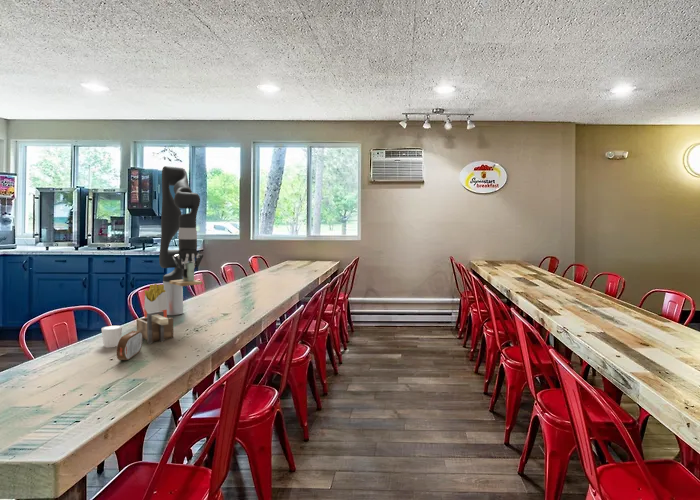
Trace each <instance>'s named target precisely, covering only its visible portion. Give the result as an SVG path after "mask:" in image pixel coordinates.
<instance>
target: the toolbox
mask: <svg viewBox="0 0 700 500" xmlns="http://www.w3.org/2000/svg"><path fill="white" fill-rule="evenodd" d="M157 314H159V315H160V316H163V317H164V311H158V312H152V313H147V317H146V318H145V317H141V318H136V331H140V332H142V334H143V340H145V341H146V342H147V344H148V345H152V344H153V343H155V342H164V341H165V340H169V339H173V338H174V318H173V317H167V318H168V324H167V325H160V324H158V323H155V322H153V321H152V315H157Z"/></svg>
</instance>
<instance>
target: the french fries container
mask: <svg viewBox="0 0 700 500" xmlns="http://www.w3.org/2000/svg"><path fill="white" fill-rule="evenodd" d="M143 291H144V305H143V306H144V312H143V313H144V318H146V317H147V313H152V312H158V311H164V317H166V318H168V315H167V298H166V292H165V290H164V285H163V284H157V283H154V284H149V288H148V290H143ZM158 315H159V314H158Z"/></svg>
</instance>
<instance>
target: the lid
mask: <svg viewBox="0 0 700 500" xmlns="http://www.w3.org/2000/svg"><path fill="white" fill-rule="evenodd" d="M170 284H175V285H179V286H183V287H188V286H196V285H197V286H198V285H199V286H200V285H203V281H202V280H196V279H195V268H194V263H190V262H189V261H188V263H187V278H184V277H183V278H182V279H181V280H171V281H170Z"/></svg>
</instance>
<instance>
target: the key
mask: <svg viewBox="0 0 700 500" xmlns="http://www.w3.org/2000/svg"><path fill="white" fill-rule="evenodd" d="M168 318H169V317H167V318H166V317H163V316H160V315H158V314H157V315H152V321H153V322H155V323H158V324H160V325H167V324H168Z"/></svg>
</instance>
